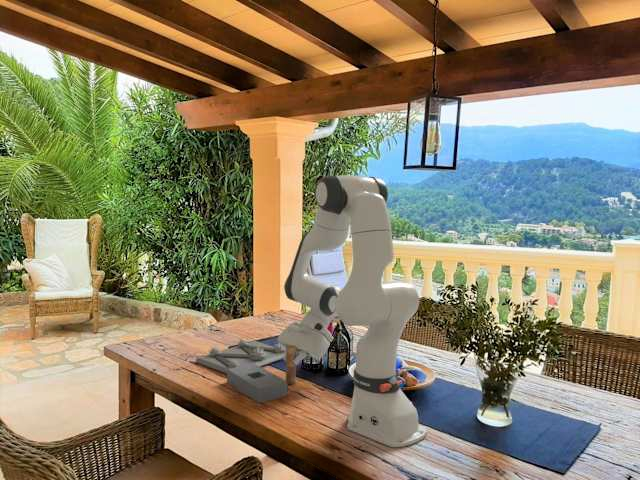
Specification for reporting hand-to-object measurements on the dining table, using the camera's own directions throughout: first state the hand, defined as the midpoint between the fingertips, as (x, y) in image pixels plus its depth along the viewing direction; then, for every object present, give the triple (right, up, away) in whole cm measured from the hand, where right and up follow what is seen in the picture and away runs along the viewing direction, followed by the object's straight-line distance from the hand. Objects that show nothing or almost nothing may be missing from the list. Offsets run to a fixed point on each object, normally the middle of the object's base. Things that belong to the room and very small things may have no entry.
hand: (289, 361), depth 167 cm
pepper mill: (+13, -4, +35) cm, 38 cm away
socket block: (-10, -8, -5) cm, 14 cm away
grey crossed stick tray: (-18, -5, +22) cm, 29 cm away
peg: (0, -7, +1) cm, 7 cm away
